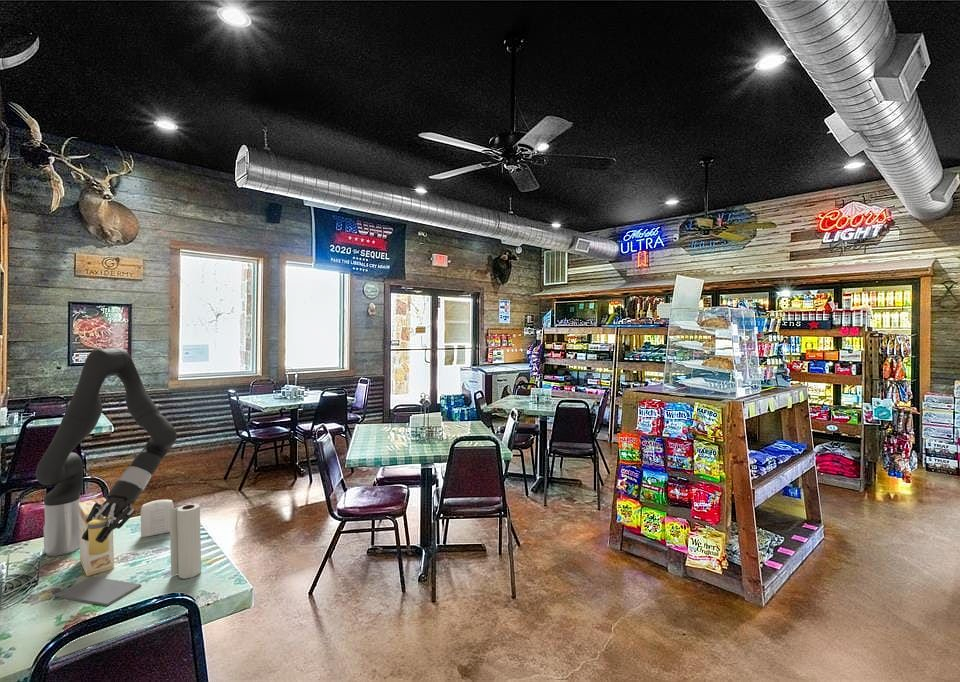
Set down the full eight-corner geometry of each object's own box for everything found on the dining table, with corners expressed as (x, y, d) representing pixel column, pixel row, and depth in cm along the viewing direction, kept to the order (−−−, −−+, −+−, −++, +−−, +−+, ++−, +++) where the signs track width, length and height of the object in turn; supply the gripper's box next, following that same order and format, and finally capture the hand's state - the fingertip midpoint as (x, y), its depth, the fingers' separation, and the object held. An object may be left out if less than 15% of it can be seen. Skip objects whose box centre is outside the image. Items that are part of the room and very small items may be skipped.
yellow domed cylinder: (84, 554, 134) (83, 523, 134) (100, 546, 139) (99, 517, 138) (97, 556, 133) (96, 525, 133) (113, 548, 138) (112, 518, 137)
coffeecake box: (115, 568, 149) (113, 508, 149) (86, 577, 144) (84, 514, 144) (106, 552, 160) (104, 496, 159) (79, 560, 154) (77, 502, 154)
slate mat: (55, 596, 134) (54, 594, 134) (91, 578, 144) (91, 576, 144) (107, 605, 129) (107, 603, 129) (141, 586, 139) (141, 584, 139)
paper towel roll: (205, 570, 148) (204, 504, 147) (188, 580, 142) (186, 511, 141) (188, 567, 150) (187, 501, 149) (171, 576, 144) (169, 508, 144)
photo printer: (174, 527, 179) (173, 496, 179) (174, 532, 176) (173, 499, 175) (141, 534, 174) (140, 501, 173) (140, 538, 170) (139, 505, 170)
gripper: (103, 477, 144) (62, 533, 133) (141, 481, 141) (101, 538, 130) (121, 488, 150) (82, 543, 138) (157, 492, 146) (120, 548, 135)
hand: (91, 540), depth 134 cm, fingers closed on yellow domed cylinder, 4 cm apart
